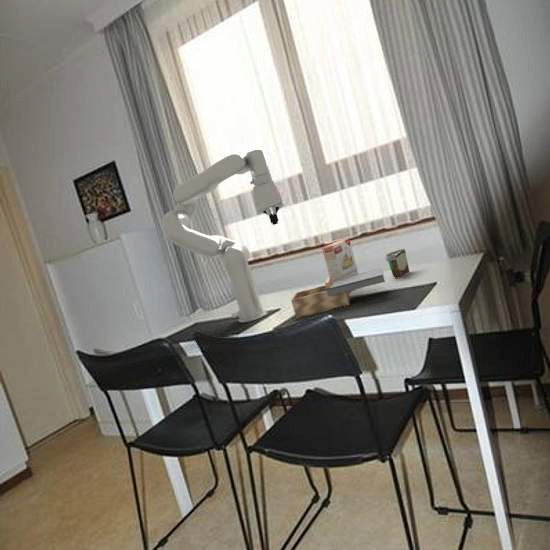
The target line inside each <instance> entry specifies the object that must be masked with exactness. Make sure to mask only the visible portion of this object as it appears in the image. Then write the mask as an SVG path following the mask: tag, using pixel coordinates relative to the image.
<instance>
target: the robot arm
mask: <svg viewBox="0 0 550 550" xmlns="http://www.w3.org/2000/svg"><path fill="white" fill-rule="evenodd" d="M248 172H250V175H251V179H252V180H251V181H249V184H250V185H254V186H252V191H253V197H254V201H255V206H256V209H257V211H258V214H265V215H267V217H269V220H270V221H269V222H270V224H272V225H273V226H274V225H278V224H279V218H278V211H279V210H280V209H282V208H283V207H284V206H285V204H284V203H283V200H282V199H283V198H282V197H281V194H280V190H279V188H278V186H277V184H276V182H275V180H273V178H272V177H273V176H272V174H271V170H270V168H269V164H268V160H267V157H266V154H265V151H264V149H262V148H255V149H252V150H249V151H247V152H246V154H242V155H241V154H240V153H232V154H230V155H227V156H225V157H223V158H222V159H220V160H218V161H217V162H214V164H212V165H210V166H209V167H208V168H206V169H204V170H203V171H202V172H200V173H198V174H196V175H194V176H193V177H191V178H189V179H187V180H186V181H184V182H181V183H180V184H179V185H177V186H176V187H175V188H174V189H173V191H172V197H173V199H174V201H175V202H176V206H175V208H174V210H171V211H168V212H166V213H165V214H164V215H163V217H162V220H161V226H162V231H163V233H164V236H166V238H167V239H168V240H169V241H170V242H171V243H173V244H174V245H176V246H179V247H181V248H183V249H185V250H188V251H189V252H192V253H195V254H198V255H201V256H202V257H205V258H207V259H216V258H217V259H220V260H222V262H223V266H224V268H225V270H226V272H227V275H228V279H229V281H230V284H231V287H232V290H233V294H234V296H235V300H236V303H237V306H238V311H236V312H233V313H232V312H231V317H232V318H238V322H239V323H249V322H252V321H255V320H258V319H261V318H263V317H266V316H267V315H268V313H269V312H268V311H267V310H266V309H263V306H262V302H261V300H260V299H261V298H260V296H259V292H258V288H257V286H256V282H255V279H254V276H253V273H252V270H251V267H250V265H249V262H248V261H249V259H250V250H249V249H248V247H246V245H244V244H242V243H240V242H237V241H235V240H232V239H230V238H227V237H224V236H222V235H218V234H212V235H208V234H205V233H201V232H199V231H196V230H194V229H191V228H189V226H190V225H191V223H192V221H193V218H194V215H195V212H196V208H197V205H198V203H199V202H198V201H199V199H201V198H202V197H204V196H207V194H210V193H211V192H213V191H214V190H216V189H217V188H218V186H219V185H220V184H221V183H222V182H224V181H226V180H228V179H230V178H231V177H233V176H235V175H244V174H246V173H248ZM270 208H271V209H272V211H271V209H270Z"/></svg>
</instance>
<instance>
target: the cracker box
mask: <svg viewBox="0 0 550 550" xmlns="http://www.w3.org/2000/svg"><path fill="white" fill-rule="evenodd" d="M352 248H353V247H352V243H351V239H349V238H347V239H346V238H345V239H342V240H338V241H335V242H333V243H330V244H328V245H326V246H324V247H322V248H321V250H322V253H323V257H324V261H325V264H326V268H327V271H328V277H331V279H332V281H333V280H337V279H341V278H345V277H349V276H353V275H357V274H359V271H358V267H357V264H356V260H355V256H354V253H353V252H354V251H353V249H352ZM351 291H352V292H353V291H354V290H350V291H349V294H350V293H352V292H351Z"/></svg>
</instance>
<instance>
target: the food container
mask: <svg viewBox="0 0 550 550" xmlns="http://www.w3.org/2000/svg"><path fill="white" fill-rule="evenodd" d="M406 253H407V251H406V249H405V248H402V249H398V250H394V251H390V252H389V253H386V255H385V261H386V262H387V263H388V264H389V265H388V266H389V268H390V271H391V273H392V277H393V278H394V277H395V278H394V279H399V278H398V277H402V276H404V275H405V274H406V273H408V272H409V273H410V268H409V263H408V258H407V255H406ZM409 273H408V274H409ZM406 275H407V274H406ZM406 275H405V276H406ZM405 276H404V277H405ZM402 278H403V277H402Z"/></svg>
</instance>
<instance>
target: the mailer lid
mask: <svg viewBox="0 0 550 550" xmlns="http://www.w3.org/2000/svg"><path fill="white" fill-rule="evenodd" d="M385 282H386V281H385V276H384V271H383V268H382V267H380V268H376V269H374V270H369V271H365V272H362V273H358V274H357V275H353V276H349V277H345V278H341V279H337V280H333V281H332V279H331V277H330V276H327V278H326V279H325V282H324V285H326V288H327V289H326V290H327V294H328V296H330V295H334V294H338V293H342V292H346V291H350V290H353V291H355V290H358V289H362V288H365V287H366V288H367V287H371V286H374V285H378V284H382V283H385Z"/></svg>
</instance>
